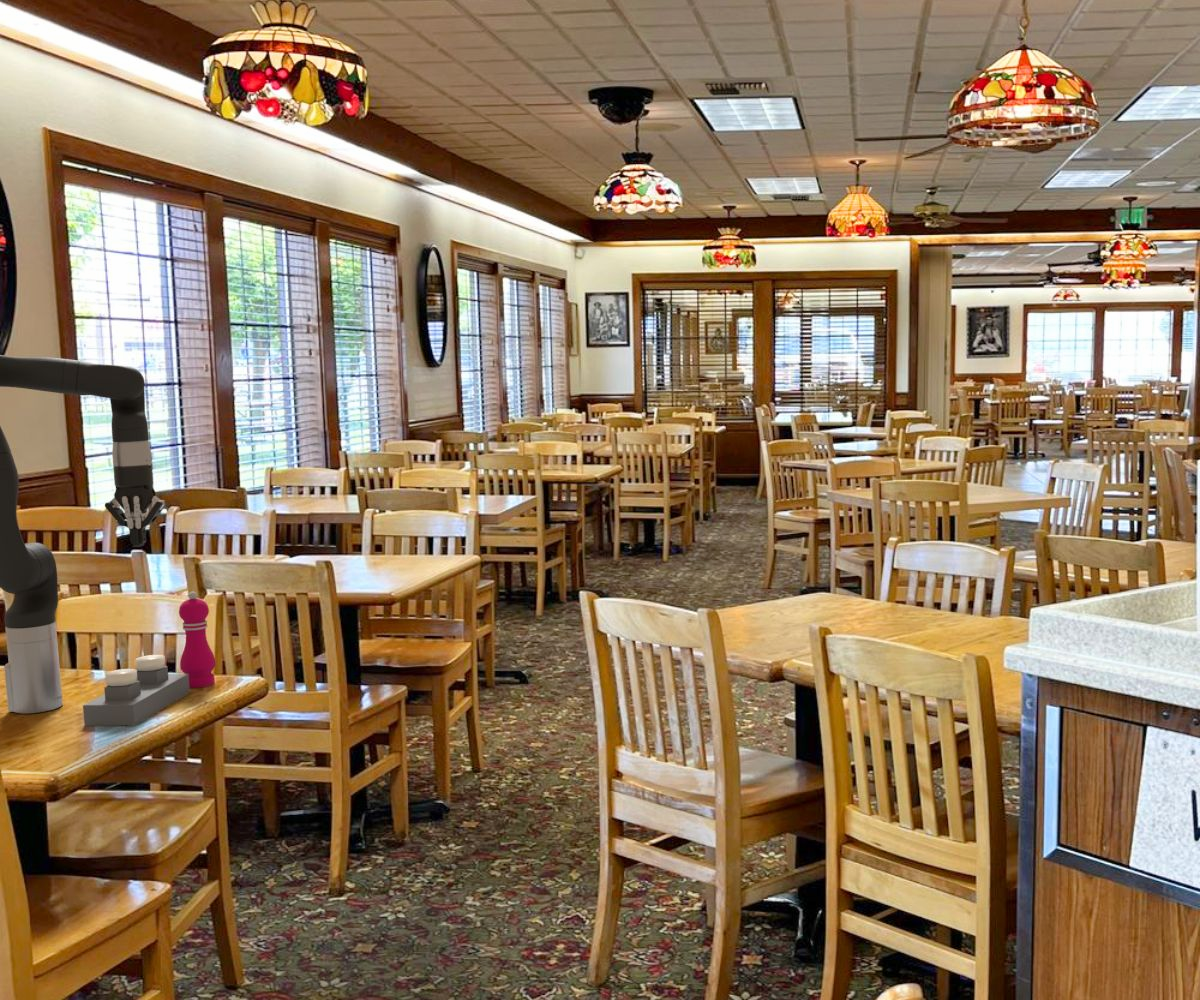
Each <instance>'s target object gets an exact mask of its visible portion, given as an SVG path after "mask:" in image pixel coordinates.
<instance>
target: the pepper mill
mask: <svg viewBox="0 0 1200 1000" xmlns="http://www.w3.org/2000/svg"><path fill="white" fill-rule="evenodd" d="M187 597H188V599H186V600H184V601H183V602H182V603H181V604H180V606H179V610H178V615H179V617H180V619H182V621H183V623H181V624H182V629H183V631H184V633H185V644H184V649H183V651H182V654H181V656H180V661H179V664H180V665H179V669H180V671H182V674H188V676H189V689H191V688H192V689H193V688H194V689H196V688H198V689H199V688H204V687H210V686H212V685H214V684H215V681H216V680H215V674H214V673H212V672H213V671H214V669H215V668H216V664H217V663H216V657H215V655H214V652H213V650H212V649H211V646H210V645H209V643H208V639H207V634H206V631H207V630H206V629H207V628H208V624H207V623H208V620H206V618H207V617H208V615H209V613H210V611H209V610H210V609H209V605H208V603H207V601H205V600H203V599H200V598H198V594H197V592H195V591H190V592H189V593H188V596H187Z"/></svg>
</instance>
